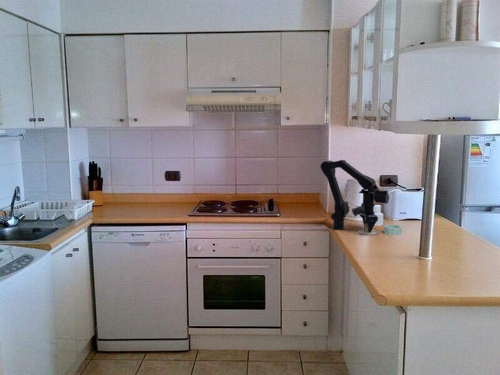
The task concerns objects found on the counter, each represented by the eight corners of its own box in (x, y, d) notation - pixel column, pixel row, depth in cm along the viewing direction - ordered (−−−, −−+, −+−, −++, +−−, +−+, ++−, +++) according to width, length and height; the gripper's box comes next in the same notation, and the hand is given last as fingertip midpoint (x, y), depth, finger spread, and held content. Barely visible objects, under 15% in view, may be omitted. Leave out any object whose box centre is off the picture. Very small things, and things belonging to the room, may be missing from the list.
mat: (356, 230, 241) (356, 230, 241) (374, 230, 241) (374, 229, 241) (360, 235, 232) (360, 234, 232) (379, 235, 231) (379, 234, 231)
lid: (356, 230, 241) (356, 221, 241) (374, 229, 241) (374, 221, 240) (360, 234, 232) (360, 226, 231) (379, 234, 231) (379, 226, 231)
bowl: (381, 231, 239) (382, 224, 238) (398, 231, 238) (398, 224, 238) (386, 236, 230) (386, 228, 229) (403, 235, 230) (404, 228, 229)
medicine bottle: (367, 223, 258) (367, 203, 256) (378, 223, 259) (379, 203, 257) (371, 226, 251) (371, 205, 249) (383, 226, 252) (384, 205, 250)
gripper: (349, 198, 243) (349, 226, 246) (356, 205, 225) (356, 234, 227) (369, 198, 243) (368, 226, 245) (378, 205, 225) (377, 234, 227)
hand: (367, 230), depth 236 cm, fingers open, 9 cm apart
